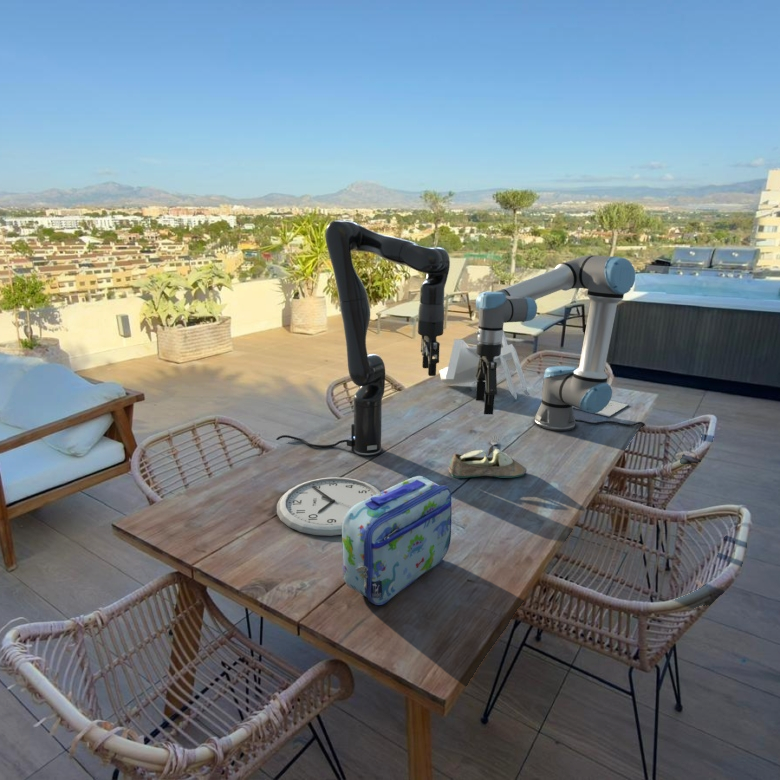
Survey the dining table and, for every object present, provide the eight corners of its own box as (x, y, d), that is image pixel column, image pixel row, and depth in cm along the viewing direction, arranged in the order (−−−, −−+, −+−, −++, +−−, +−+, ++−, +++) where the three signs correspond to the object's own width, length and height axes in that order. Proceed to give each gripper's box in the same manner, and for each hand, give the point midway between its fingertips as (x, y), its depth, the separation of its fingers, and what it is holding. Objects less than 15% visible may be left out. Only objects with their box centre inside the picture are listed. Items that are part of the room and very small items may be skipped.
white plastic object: (461, 429, 252) (437, 405, 227) (444, 352, 274) (420, 323, 250) (535, 404, 240) (518, 377, 215) (510, 326, 262) (492, 293, 237)
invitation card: (608, 416, 214) (573, 407, 224) (608, 416, 214) (573, 408, 224) (628, 404, 229) (594, 396, 238) (628, 405, 229) (594, 397, 238)
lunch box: (371, 618, 102) (371, 524, 95) (336, 591, 109) (334, 502, 103) (455, 562, 119) (460, 479, 113) (420, 542, 126) (423, 463, 120)
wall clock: (392, 527, 129) (268, 531, 127) (391, 533, 130) (269, 537, 127) (383, 473, 158) (282, 475, 155) (383, 478, 158) (282, 480, 156)
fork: (484, 456, 175) (484, 450, 174) (492, 439, 189) (492, 434, 188) (491, 457, 174) (492, 452, 173) (499, 440, 188) (499, 435, 188)
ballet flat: (531, 479, 160) (533, 454, 157) (452, 483, 156) (454, 458, 154) (520, 467, 168) (523, 443, 165) (446, 471, 164) (447, 446, 162)
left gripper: (414, 314, 159) (412, 366, 164) (423, 322, 146) (421, 378, 150) (438, 314, 160) (435, 365, 165) (449, 322, 147) (446, 378, 152)
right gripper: (470, 334, 174) (465, 394, 181) (485, 351, 151) (479, 420, 157) (492, 334, 175) (487, 395, 181) (511, 351, 151) (504, 420, 157)
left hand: (428, 371), depth 158 cm, fingers open, 8 cm apart
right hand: (483, 407), depth 169 cm, fingers open, 13 cm apart
